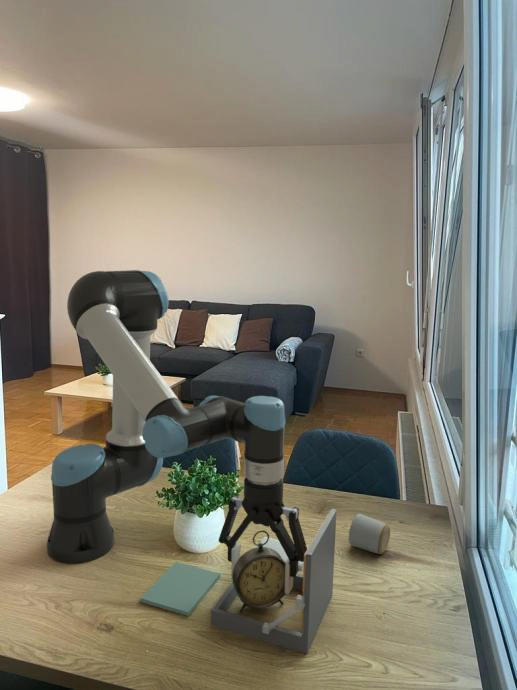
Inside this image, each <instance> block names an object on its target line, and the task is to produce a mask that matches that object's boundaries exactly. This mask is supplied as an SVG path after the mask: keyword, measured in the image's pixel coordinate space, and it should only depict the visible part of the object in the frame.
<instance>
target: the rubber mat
mask: <svg viewBox="0 0 517 690" xmlns="http://www.w3.org/2000/svg"><path fill="white" fill-rule="evenodd" d="M220 578H221V573H219V572H216V571H212V570H209V569H205V568H203V567H196V566H194V565H190V564H185V563H182V562H178V561H175V562H174V563H173V564H172V565H171V566H170V567H169V568H168V569H167V570H166V572H164V573H163V575H161V577H160V578H159V579H158V580H156V581H155V582H154V584H153V585H152V586H150V587H149V589H148V590H147V591H145V592H144V594H143V595H141V597H140V599H139V600H140V603H143V604H146V603H147V605H150V606H153V607H156V608H161V609H163V610H166V611H170V612H173V611H174V612H173V613H177V614H179V615H184V616H187V617H190V615H191V614H192V613H193V611H195V609H196V608H197V607H198V605H199V604H201V602H202V600H203V599H204V598H205V597H206V595H207V594H208V593H209V591H211V589H212V588H213V587H214V585H215V584H216V583H217V581H218V580H220Z"/></svg>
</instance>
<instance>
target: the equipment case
mask: <svg viewBox="0 0 517 690" xmlns="http://www.w3.org/2000/svg"><path fill="white" fill-rule="evenodd" d="M337 510H338V509H335V508H331V509H330V511H329V513H328V514H327V515H326V517H325V518H324V520H323V522H322V524H321V526H320V527H319V529H318V531H317V532H316V534H315V535H314V537H313V539H312V541H311V543H310V544H309V546H308V549H307V551H306V553H305V555H304V567H303V569H302V573H298V572H297V574H296V576H295V577H293V587H292V589H295V590H298V591H302V594H297V596H296V598H295V605H293V606H292V607H290V608H289V609H288V610H286V611H285V612H284V613H282V614H281V615H279V616H278V617H276V618H275V619H274V620H273V621H271V622H265V621H262V620H259V619H255V618H251V617H247V616H246V615H245V616H244V615H240V614H238V613H233V612H230V611H227V610H228V609H229V608H230V606H231V605H232V604H233V603H234V601H235V599H236V598H237V597H238V594H237V592H236V589H235V587H234V584H233V581H232V582H231V583H230V584H229V585H228V587H227V588H226V590H225V591H224V592H223V594H222V595H221V597H219V599H218V601H217V602H216V603H215V604H214V606H213V607H212V608H211V610H210V626H213V627H217V628H219V629H224V630H226V631H230V632H232V633H236V634H240V635H242V636H247V637H249V638H254V639H255V640H260V641H263V642H266V643H269V644H273V645H276V646H278V647H283V648H285V649H286V648H287V649H289V650H293V651H297V652H300V653H303V654H306V655H308V654H309V651H310V649H311V647H312V644H313V642H314V640H315V636H317V635H316V634H317V633H318V630H319V627H320V625H321V624H322V620H323V619H324V616H325V613H326V611H327V609H328V607H329V604H330V602H331V599H332V597H333V594H334V593H333V590H334V569H335V548H336V532H337V531H336V530H337V514H338V513H337V512H338V511H337ZM298 611H300V612H301V619H300V620H301V623H300V625H301V627H300V628H302V632H299V631H296V630H292V629H289V628H286V627H283V626H279V625H280V624H282V623H283V622H284V621H286V620H287V619H289V618H290V617H292V616H293V615H294V614H295V613H297V612H298Z"/></svg>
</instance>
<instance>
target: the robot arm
mask: <svg viewBox="0 0 517 690" xmlns="http://www.w3.org/2000/svg"><path fill="white" fill-rule="evenodd" d="M66 303H67V305H66V309H67V315H68V318H69V322H70V323H71V326H72V327H73V329H74V330H75V332H77V334H78V336H79V337H81V338H82V339H84V340H88V341H89V343H90V344H91V346H92V347H93V349H94V350H95V352H96V353H97V354H98V356H99V358H100V359H101V360H102V361H103V363H104V365H105V366H106V367H107V369H108V371H109V372H110V374H111V375H112V411H111V412H112V415H111V416H112V417H111V419H112V421H111V422H112V423H111V426H112V427H111V430H109V431H108V432H107V433H106V434H105V447H104V446H103V447H102V446H101V445H100V444H95V443H85V444H77V445H73V446H70V447H68V448H67V449H64V450H62V451H60V452H59V453H57V455H56V456H55V458H54V459H53V460H52V463H51V476H50V479H51V484H52V485H51V486H52V488H51V489H52V504H53V506H52V507H53V520H52V524H51V527H50V530H49V534H48V537H47V540H46V548H47V549H46V550H47V554H48V556H49V557H50V558H51V559H52V560H54V561H57V562H60V563H63V564H64V563H65V564H78V563H80V564H81V563H85V562H89V561H93V560H95V559H98V558H101V557H102V556H104V555H106V554H107V553H109V552H110V551H111V550H112V548H113V547H114V545H115V531H114V529H113V527H112V525H111V523H110V519H109V515H108V514H107V507H106V506H107V505H106V504H107V503H106V501H107V498H110V497H112V496H115V495H118V494H120V493H123V492H125V491H129V490H131V489H135V488H137V487H138V488H139V487H141V486H142V487H143V486H144V485H146V484H147V483H150V482H151V481H154V480H155V479H156V478H157V477H158V476H159V474H160V472H161V471H162V468H163V462H164V459H165V458H168V457H173V456H180V455H182V454H183V453H185V452H188V451H190V450H193V449H197V448H199V447H201V446H206V445H210V444H212V443H216V442H218V441H221V440H224V439H229V440H232V441H235V442H239V443H240V444H241V443H242V444H243V445H244V447H243V449H244V454H243V456H244V463H243V464H244V466H243V467H244V469H243V470H244V471H243V473H244V479H243V498H239V496H238V495H236V494H235V495H233V496H232V497H231V499H229V500H228V502H227V503H228V504H227V505H228V507H227V508H228V511H227V514H226V517H225V519H224V523H223V526H222V528H221V532H220V534H219V538H218V542H219V543H220V544H224V545H225V546H226V547H227V560H228V562H230V563H231V574H230V575H231V579H230V580H231V581H233V579H232V575H233V570H234V567H235V564H236V563H237V561H238V560H239V558H240V557H241V543H239V542H238V541H239V539H240V538H241V537H242V535H243V534H244V532H245V531H246V530H247V529H248V526H249V525H250V524H251V523H253V524H254V525H262V526H265V527H268V528H270V529H271V531H272V533H274V534H275V536H276V538H277V540H279V542H280V544H281V546H282V547H283V549H284V551H285V553H286V555H287V557H288V559H287V561H286V564H285V595H286V594H287V595H289V594H290V592H291V590H292V589H293V588H292V587H293V577H295V576H296V574H297V573H298V572H299V569H298V561H301V562H304V555H305V553H306V551H307V547H308V546H307V543H306V541H305V540H306V539H305V536H304V534H303V530H302V527H301V523H300V519H299V516H300V515H299V514H300V509H299V507H297V506H293V507H292V508H291V507H286V506H285V503H284V501H283V500H284V479H283V478H284V471H285V469H284V463H285V462H284V461H285V460H284V457H285V456H284V455H285V452H284V448H285V445H284V444H285V431H286V414H285V404H284V402H283V400H281V399H280V398H278V397H276V396H275V397H274V396H270V395H269V396H266V395H256V396H255V395H254V396H252V397H249V398H247V399H246V400H245V402H242V401H238V400H235V399H232V398H229V397H226V396H222V395H221V396H220V395H209V396H207V397H205V398H204V399H203V400H202V401H201V402H200V403H199V405H197V406H192V407H188V408H186V407H185V405H184V404H183V402H182V401H181V400H180V398H178V396H177V394H175V392H174V391H173V389H172V388H171V387H170V385H169V384H168V383H167V381H166V380H165V379H164V377H163V376H162V375H161V374H160V372H159V371H158V370H157V368H156V367H155V365H154V364H153V362H152V361H151V360H150V359H151V336H152V335H153V334H154V333H155V332H156V331H157V330H158V320H161V318H163V317H165V315H166V313H167V312H168V309H169V303H170V302H169V294H168V289H167V287H166V285H165V283H164V282H163V280H162V279H161V277H159V276H158V275H157V274H156V273H154V272H152V271H149V270H139V269H132V270H130V269H129V270H108V271H104V270H96V271H91V272H89V273H86V274H84V275H82V276H81V277H80V278H78V280H76V282H74V284H73V286H72V287H71V288H70V291H69V293H68V297H67V302H66ZM241 508H243V510H244V512H245V513H246V516H245V517H244V519H243V520H242V522H241V523H240V525H239V526H238V528H237V529H236V530H235V532H234V533H233V535H232V536H231V531H232V528H233V525H234V523H235V520H236V518H237V514H238V512H239V510H240V509H241ZM282 515H285V518H286V521H288V527H289V531H290V534H291V535H290V534H289V532H288V530H287V528H286V526H285V523H284V520H283V518H282Z"/></svg>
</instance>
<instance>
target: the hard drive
mask: <svg viewBox="0 0 517 690" xmlns="http://www.w3.org/2000/svg"><path fill="white" fill-rule="evenodd" d="M267 538H268V536H264V537H262V538H261V541H259V543H262V544H264V543H265V542H266V541H267ZM255 546H256V545H255ZM257 547H258V546H256V547H255V548H257ZM263 547H267V548H271V549H273V550H275V551H276V552H277V553H278V554H279V555H280V556H281V557H282V559H283V560H284V562H285V563H286V561H287V559H288V557H287V555H286V553H285V551H284V549H283V547H282V546H281V544H280V542H279V540H278V539H276V538H272V537H269V540H268V542H267V543H266V544H265V545H263ZM308 548H309V546H307V549H308ZM303 567H304V562H301V561H298V570H301V571H303Z"/></svg>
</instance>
